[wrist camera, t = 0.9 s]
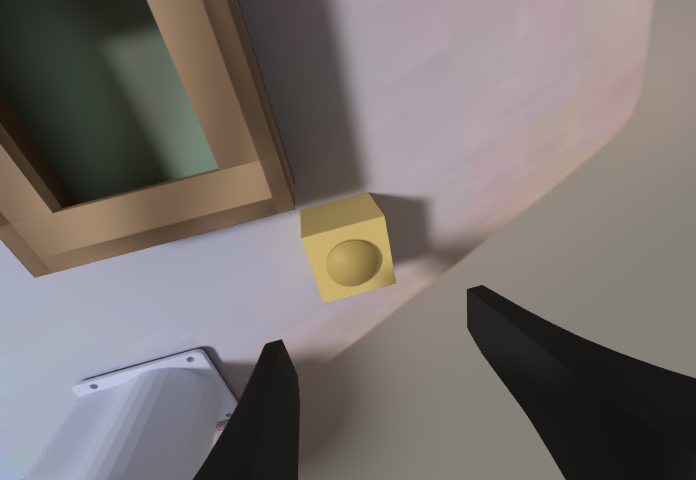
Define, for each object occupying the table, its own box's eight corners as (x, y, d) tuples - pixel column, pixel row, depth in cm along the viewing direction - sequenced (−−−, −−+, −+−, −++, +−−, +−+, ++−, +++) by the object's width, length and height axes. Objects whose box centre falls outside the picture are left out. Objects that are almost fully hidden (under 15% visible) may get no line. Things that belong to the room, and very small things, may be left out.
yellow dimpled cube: (318, 266, 21) (323, 306, 17) (300, 209, 19) (301, 240, 15) (379, 250, 21) (397, 286, 17) (367, 191, 19) (386, 218, 15)
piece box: (92, 234, 17) (34, 277, 13) (-99, -33, 12) (-295, -93, 8) (294, 182, 18) (295, 209, 14) (207, -100, 12) (166, -188, 8)
